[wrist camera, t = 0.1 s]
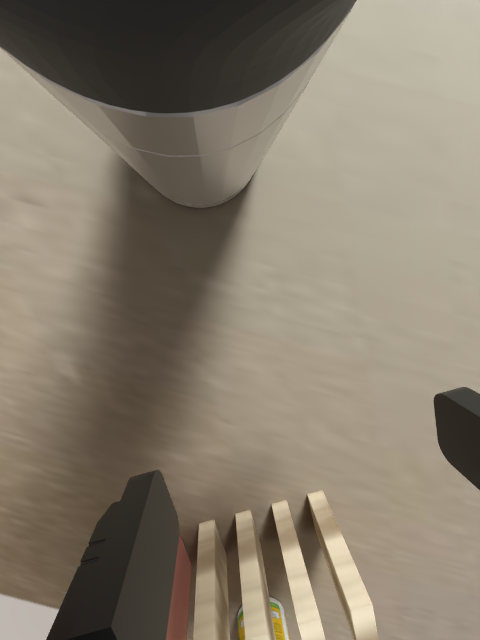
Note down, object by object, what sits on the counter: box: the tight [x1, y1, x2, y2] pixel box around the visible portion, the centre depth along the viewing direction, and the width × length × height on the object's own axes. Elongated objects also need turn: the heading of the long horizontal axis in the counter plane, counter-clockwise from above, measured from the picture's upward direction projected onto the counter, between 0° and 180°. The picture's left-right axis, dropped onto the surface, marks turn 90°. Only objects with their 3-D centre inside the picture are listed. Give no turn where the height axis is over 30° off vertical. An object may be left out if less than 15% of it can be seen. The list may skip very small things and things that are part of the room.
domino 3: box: [235, 510, 276, 640], centre depth 26 cm, size 5×2×10 cm, turn 14°
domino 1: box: [166, 533, 192, 640], centre depth 26 cm, size 5×2×10 cm, turn 14°
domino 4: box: [272, 500, 325, 640], centre depth 26 cm, size 5×2×10 cm, turn 14°
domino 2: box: [193, 520, 230, 640], centre depth 26 cm, size 5×2×10 cm, turn 14°
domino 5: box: [307, 490, 378, 640], centre depth 26 cm, size 5×2×10 cm, turn 13°
